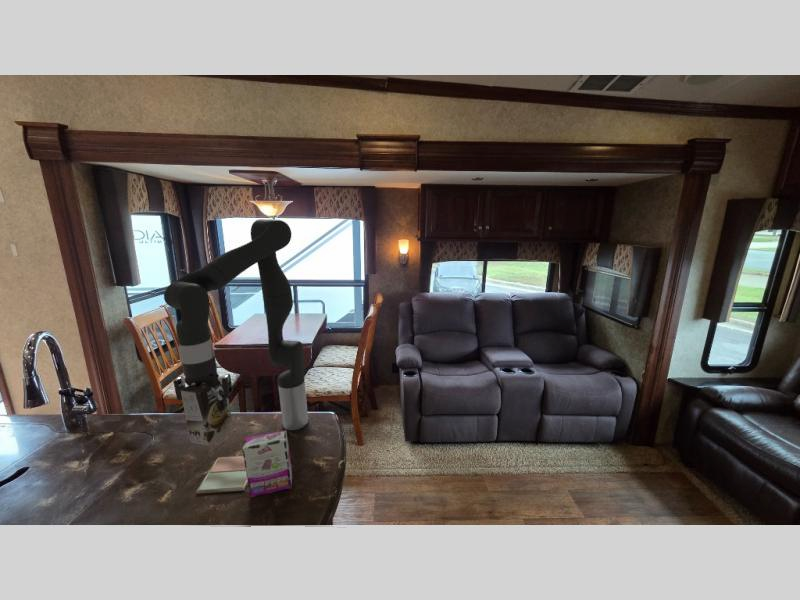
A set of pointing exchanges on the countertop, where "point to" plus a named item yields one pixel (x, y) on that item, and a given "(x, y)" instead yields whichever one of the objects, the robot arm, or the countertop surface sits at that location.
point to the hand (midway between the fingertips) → (208, 410)
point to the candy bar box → (267, 463)
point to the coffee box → (205, 414)
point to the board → (225, 476)
